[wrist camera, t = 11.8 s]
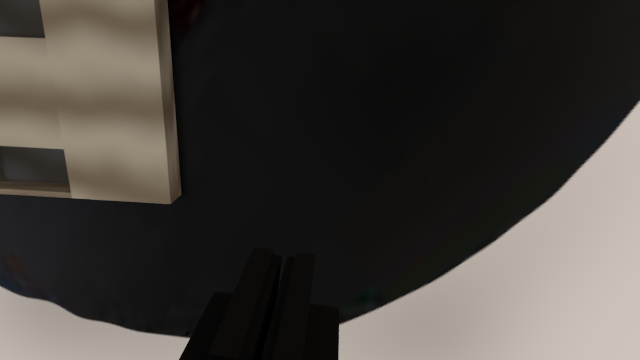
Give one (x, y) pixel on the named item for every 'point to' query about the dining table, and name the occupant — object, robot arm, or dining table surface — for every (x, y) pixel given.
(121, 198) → the board
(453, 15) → the dining table surface
